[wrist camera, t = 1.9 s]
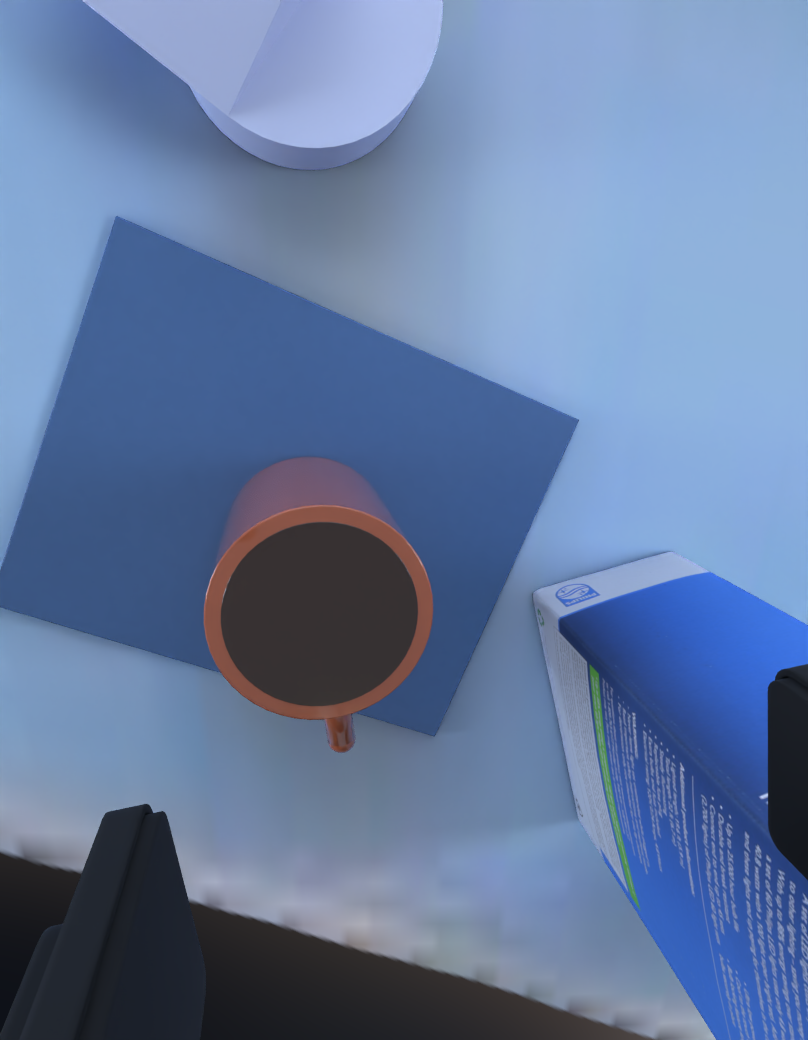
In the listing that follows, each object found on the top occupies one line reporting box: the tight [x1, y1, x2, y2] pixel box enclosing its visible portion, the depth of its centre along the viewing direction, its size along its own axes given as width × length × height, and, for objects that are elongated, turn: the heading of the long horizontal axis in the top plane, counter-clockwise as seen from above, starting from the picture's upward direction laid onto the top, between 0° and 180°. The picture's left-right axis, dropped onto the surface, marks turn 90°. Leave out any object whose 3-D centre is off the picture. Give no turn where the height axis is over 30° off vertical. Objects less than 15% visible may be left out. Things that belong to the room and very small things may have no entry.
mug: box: [203, 457, 433, 753], centre depth 27 cm, size 10×7×9 cm
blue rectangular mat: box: [0, 216, 579, 736], centre depth 30 cm, size 20×16×1 cm
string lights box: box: [533, 551, 808, 1040], centre depth 23 cm, size 13×8×26 cm, turn 14°
